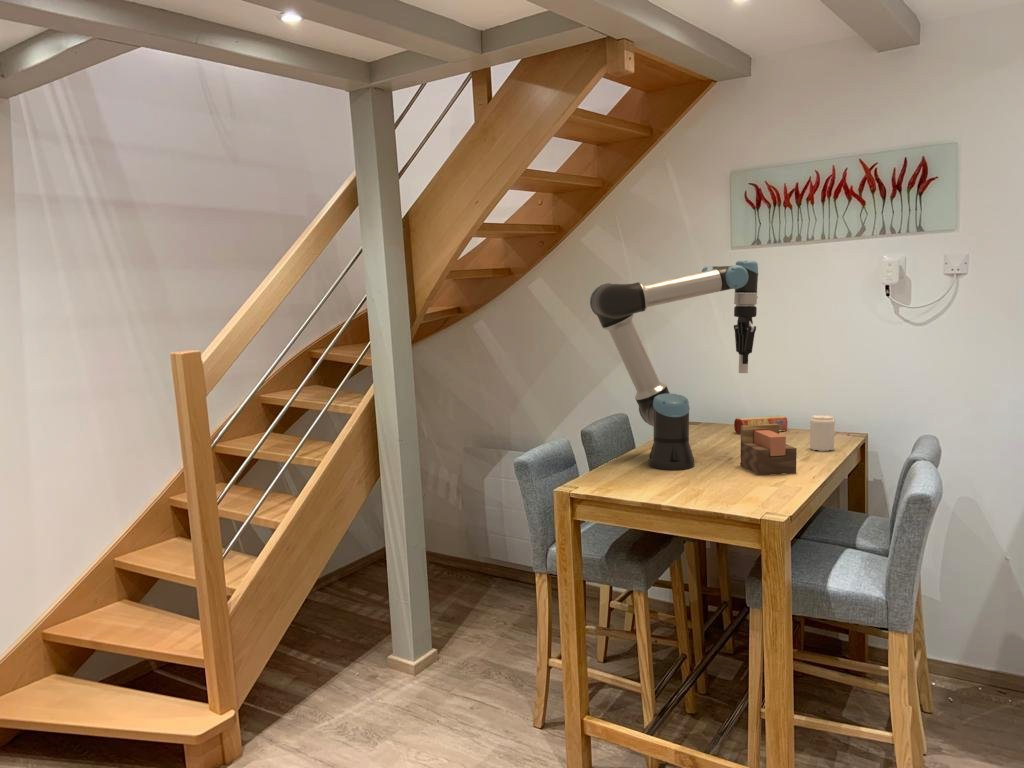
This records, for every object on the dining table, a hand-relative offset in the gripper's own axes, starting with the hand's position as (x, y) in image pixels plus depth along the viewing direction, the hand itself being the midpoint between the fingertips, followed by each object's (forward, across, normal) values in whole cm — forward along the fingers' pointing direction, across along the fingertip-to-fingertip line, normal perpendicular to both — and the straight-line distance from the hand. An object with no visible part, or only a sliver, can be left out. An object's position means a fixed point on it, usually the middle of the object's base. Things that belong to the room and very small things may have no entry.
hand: (743, 372), depth 283 cm
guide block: (+29, -25, +2) cm, 39 cm away
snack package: (+28, +34, -24) cm, 50 cm away
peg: (+23, -25, +3) cm, 34 cm away
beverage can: (+28, -3, -30) cm, 41 cm away
